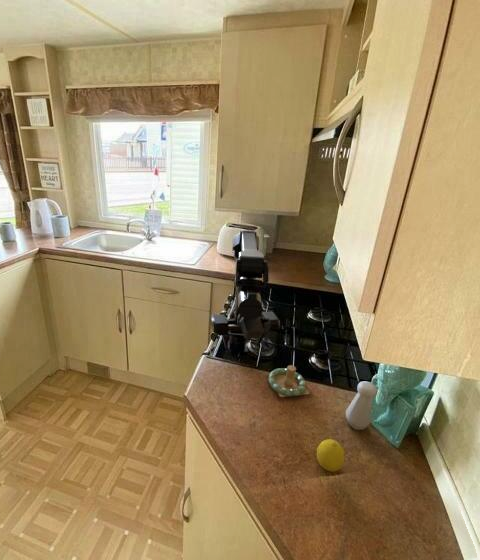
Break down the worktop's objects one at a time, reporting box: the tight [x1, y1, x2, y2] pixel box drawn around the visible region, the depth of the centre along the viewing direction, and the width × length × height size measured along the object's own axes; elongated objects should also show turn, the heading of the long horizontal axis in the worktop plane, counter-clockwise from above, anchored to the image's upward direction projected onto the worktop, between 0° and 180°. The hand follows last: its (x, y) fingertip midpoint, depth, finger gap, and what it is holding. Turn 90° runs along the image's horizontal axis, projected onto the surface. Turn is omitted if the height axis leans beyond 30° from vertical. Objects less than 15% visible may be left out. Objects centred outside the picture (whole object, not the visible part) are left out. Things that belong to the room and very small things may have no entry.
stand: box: [275, 364, 311, 398], centre depth 92 cm, size 9×9×7 cm
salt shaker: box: [345, 380, 378, 431], centre depth 79 cm, size 6×6×13 cm
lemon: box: [316, 438, 346, 473], centre depth 69 cm, size 6×6×8 cm
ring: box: [268, 367, 307, 397], centre depth 93 cm, size 11×11×2 cm
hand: (241, 346), depth 91 cm, fingers open, 9 cm apart
